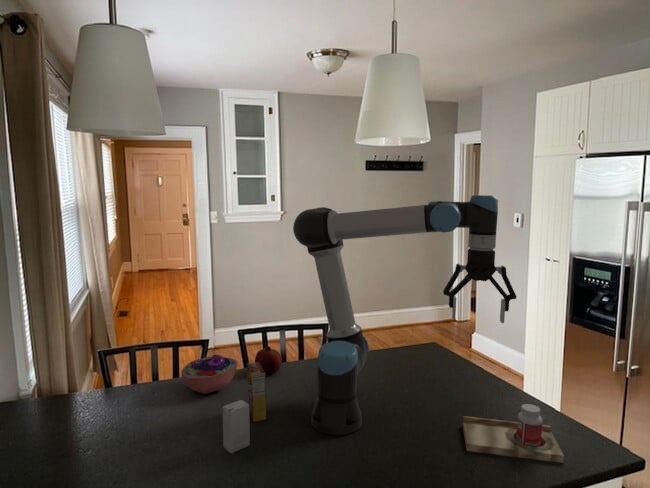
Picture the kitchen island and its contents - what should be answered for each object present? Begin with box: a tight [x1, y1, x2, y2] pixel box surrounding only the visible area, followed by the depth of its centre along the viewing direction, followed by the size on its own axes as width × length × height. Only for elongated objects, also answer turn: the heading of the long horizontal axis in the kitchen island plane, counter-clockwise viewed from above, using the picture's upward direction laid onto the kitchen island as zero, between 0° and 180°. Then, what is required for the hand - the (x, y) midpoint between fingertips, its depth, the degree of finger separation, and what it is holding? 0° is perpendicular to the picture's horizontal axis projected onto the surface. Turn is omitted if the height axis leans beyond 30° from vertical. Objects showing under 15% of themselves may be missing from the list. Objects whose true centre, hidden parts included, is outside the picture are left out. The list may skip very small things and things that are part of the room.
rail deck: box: [462, 415, 565, 464], centre depth 126 cm, size 24×13×3 cm, turn 78°
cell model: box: [180, 354, 239, 395], centre depth 156 cm, size 17×20×11 cm
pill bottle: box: [515, 403, 543, 447], centre depth 124 cm, size 6×6×11 cm
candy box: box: [246, 361, 267, 423], centre depth 139 cm, size 9×4×15 cm, turn 20°
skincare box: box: [222, 399, 251, 454], centre depth 122 cm, size 6×4×12 cm
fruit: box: [254, 345, 283, 375], centre depth 171 cm, size 11×10×10 cm
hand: (477, 320), depth 133 cm, fingers open, 13 cm apart
